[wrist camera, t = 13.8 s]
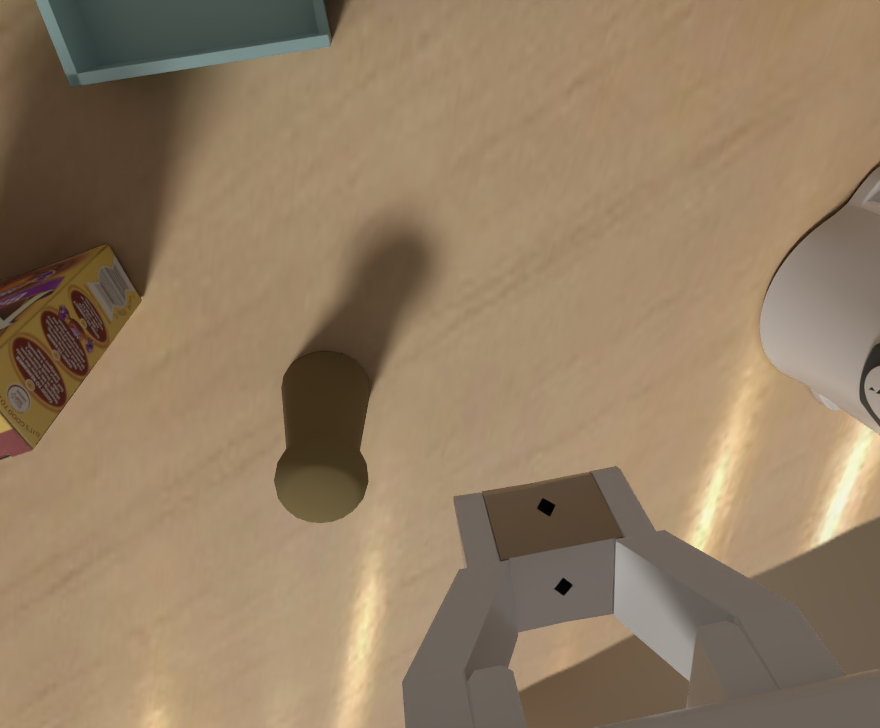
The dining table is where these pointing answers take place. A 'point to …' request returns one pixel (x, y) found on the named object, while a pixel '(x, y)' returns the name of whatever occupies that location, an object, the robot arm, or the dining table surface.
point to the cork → (323, 437)
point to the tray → (176, 34)
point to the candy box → (55, 338)
